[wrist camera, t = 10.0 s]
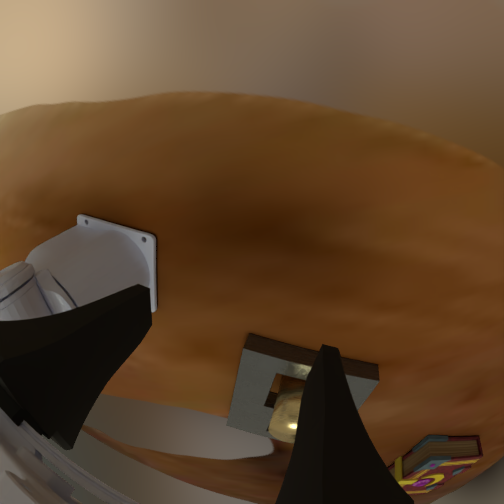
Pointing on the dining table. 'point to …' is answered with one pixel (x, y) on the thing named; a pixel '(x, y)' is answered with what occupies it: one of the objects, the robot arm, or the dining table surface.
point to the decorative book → (435, 462)
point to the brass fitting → (287, 409)
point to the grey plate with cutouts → (287, 363)
